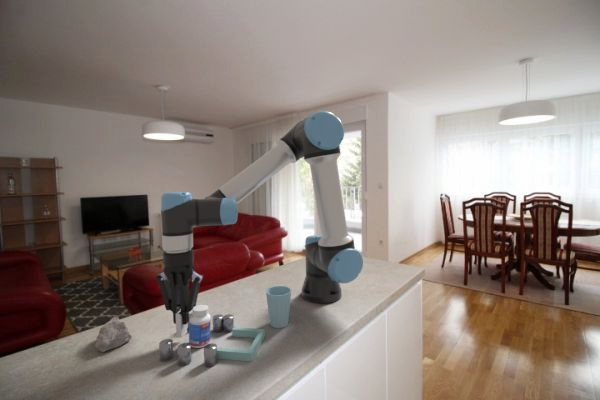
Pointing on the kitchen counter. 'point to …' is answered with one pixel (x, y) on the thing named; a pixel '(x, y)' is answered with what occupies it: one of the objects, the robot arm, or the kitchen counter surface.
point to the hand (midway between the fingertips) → (181, 334)
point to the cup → (278, 305)
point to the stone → (112, 335)
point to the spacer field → (184, 349)
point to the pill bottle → (199, 327)
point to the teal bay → (243, 354)
